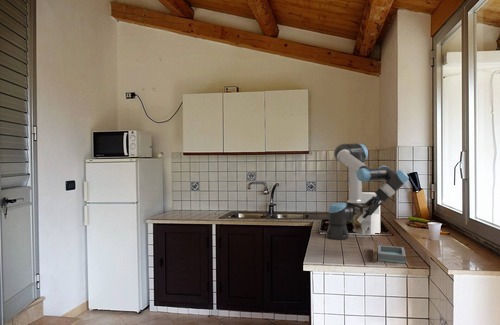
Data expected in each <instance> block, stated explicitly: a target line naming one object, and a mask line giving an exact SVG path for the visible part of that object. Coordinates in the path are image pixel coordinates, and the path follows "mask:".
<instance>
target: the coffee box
mask: <svg viewBox="0 0 500 325" xmlns="http://www.w3.org/2000/svg"><path fill="white" fill-rule="evenodd" d="M369 207H370V206H368V205H364V204H353V224H352V231H353V232H354V233H356V234H360V235H362V236H363V235H372V234H371V215H369V216H368V217H367V218H366V219H365V220H364V221H362V222H361V223H360V222H359V221H358V220H357V219H358V218H359V217H360V216H361V215H362V214H363V213H364V212H365V211H366V210H368V209H369Z"/></svg>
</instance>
